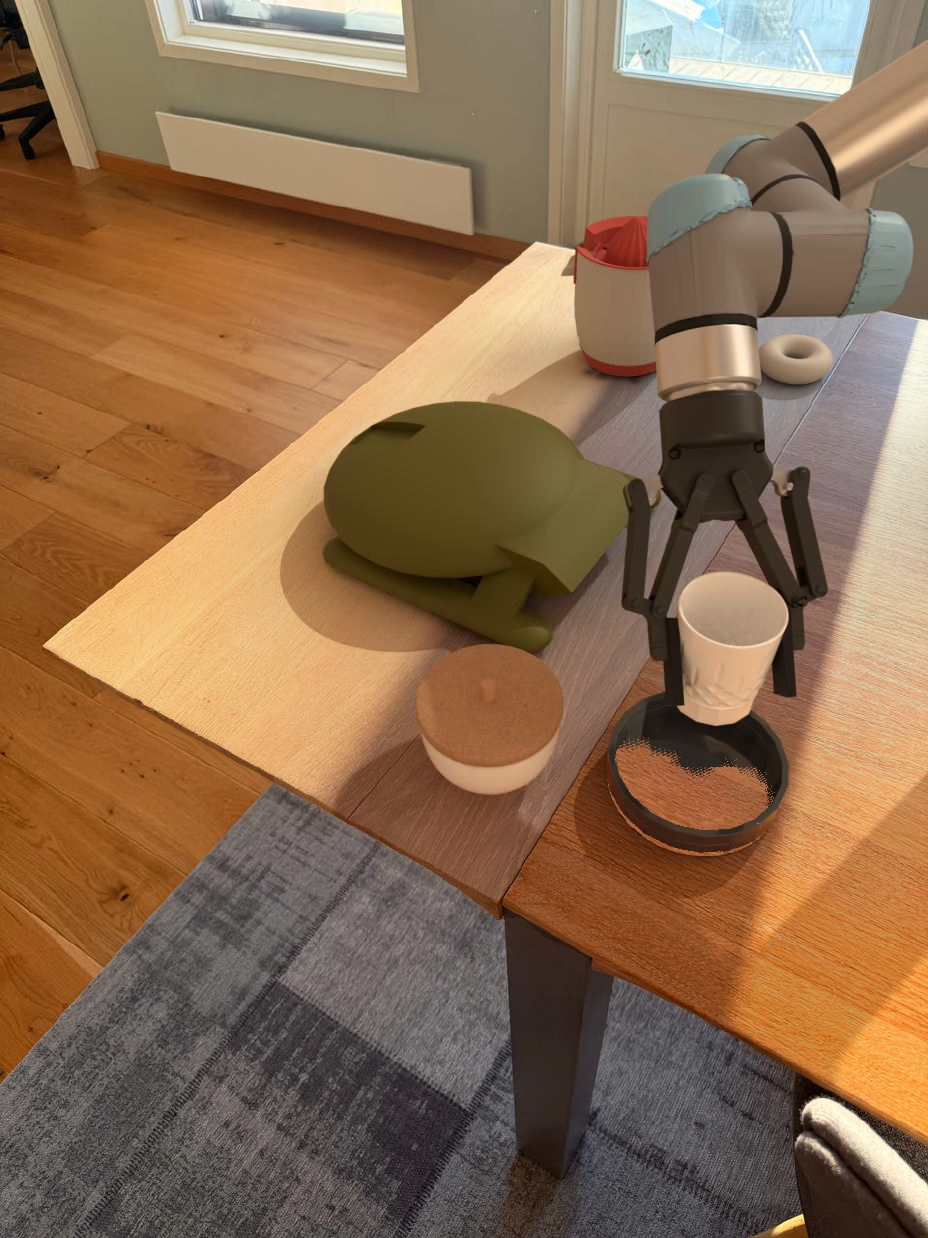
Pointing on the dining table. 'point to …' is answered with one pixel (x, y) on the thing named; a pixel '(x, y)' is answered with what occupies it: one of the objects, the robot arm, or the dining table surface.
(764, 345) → the donut
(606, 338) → the citrus juicer
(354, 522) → the spaceship
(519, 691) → the lidded bowl
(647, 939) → the dining table surface
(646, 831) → the dark grey round dish
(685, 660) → the white cup
